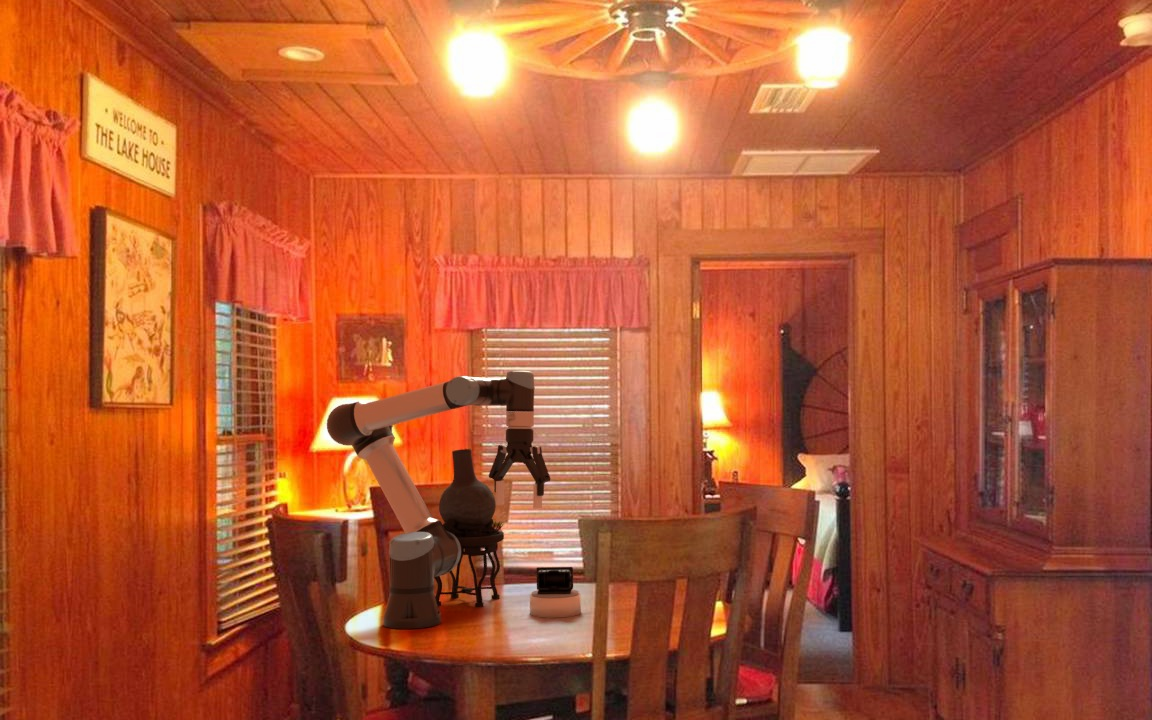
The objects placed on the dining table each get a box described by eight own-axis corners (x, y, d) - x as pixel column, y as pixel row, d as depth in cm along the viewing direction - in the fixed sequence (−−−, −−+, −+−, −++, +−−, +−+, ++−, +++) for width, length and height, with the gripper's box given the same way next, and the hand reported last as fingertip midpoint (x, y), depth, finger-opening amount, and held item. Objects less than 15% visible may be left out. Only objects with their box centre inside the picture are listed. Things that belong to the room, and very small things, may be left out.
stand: (519, 613, 291) (519, 593, 291) (554, 606, 301) (553, 586, 302) (556, 619, 282) (556, 598, 282) (591, 611, 292) (590, 591, 292)
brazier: (519, 598, 317) (516, 447, 319) (475, 610, 297) (472, 450, 300) (459, 593, 328) (457, 448, 331) (412, 605, 309) (410, 450, 311)
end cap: (573, 590, 295) (573, 565, 296) (572, 594, 288) (571, 569, 288) (537, 590, 296) (537, 566, 296) (535, 594, 289) (535, 569, 289)
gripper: (476, 426, 292) (475, 504, 291) (545, 428, 276) (544, 510, 275) (495, 426, 298) (494, 502, 297) (564, 428, 282) (562, 508, 281)
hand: (518, 506), depth 286 cm, fingers open, 13 cm apart
